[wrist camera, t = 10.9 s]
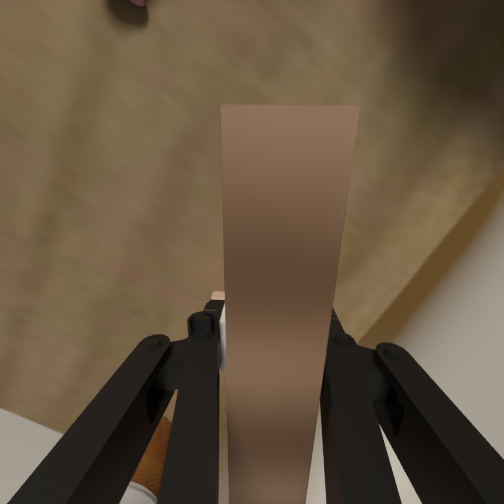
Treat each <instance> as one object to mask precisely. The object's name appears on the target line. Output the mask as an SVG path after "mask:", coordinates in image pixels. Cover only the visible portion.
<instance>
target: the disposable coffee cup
mask: <svg viewBox="0 0 504 504" xmlns="http://www.w3.org/2000/svg"><path fill="white" fill-rule="evenodd" d="M171 425H172V424H171V423H170V421H169V420H167V419H166V418H165V417H162V418H161V420H160V422H159V424H158V426H157V428H156V430H155V432H154V434H153V436H152V439H151V441H150V443H149V445H148V447H147V449H146V451H145V453H144V455H143V457H142V459H141V461H140V463H139V465H138V467H137V469H136V471H135V473H134V475H133V477H132V479H131V481H130V483H129V485H128V487H127V489H126V491H125V493H124V495H123V497H122V499H121V501H120V503H119V504H157V499H158V494H159V489H160V484H161V478H162V473H163V468H164V462H165V457H166V452H167V447H168V441H169V436H170V431H171Z"/></svg>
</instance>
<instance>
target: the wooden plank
mask: <svg viewBox="0 0 504 504" xmlns="http://www.w3.org/2000/svg"><path fill="white" fill-rule="evenodd" d="M359 111H360V106H318V105H221V144H222V191H223V238H224V285H225V332H226V379H227V425H228V470H229V471H228V472H229V504H305V503H306V495H307V488H308V480H309V473H310V466H311V459H312V452H313V444H314V437H315V430H316V422H317V415H318V408H319V400H320V394H321V386H322V379H323V372H324V365H325V357H326V350H327V343H328V336H329V328H330V321H331V314H332V307H333V299H334V292H335V285H336V278H337V270H338V263H339V256H340V248H341V241H342V234H343V227H344V219H345V212H346V205H347V198H348V190H349V183H350V176H351V169H352V161H353V154H354V147H355V140H356V132H357V125H358V118H359Z"/></svg>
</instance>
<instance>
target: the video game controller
mask: <svg viewBox="0 0 504 504" xmlns="http://www.w3.org/2000/svg"><path fill="white" fill-rule="evenodd" d="M130 1H131V2H132V3H134V4H135V5H137V6H141V7H143V6H144V5H145V2H144V0H130Z"/></svg>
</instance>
